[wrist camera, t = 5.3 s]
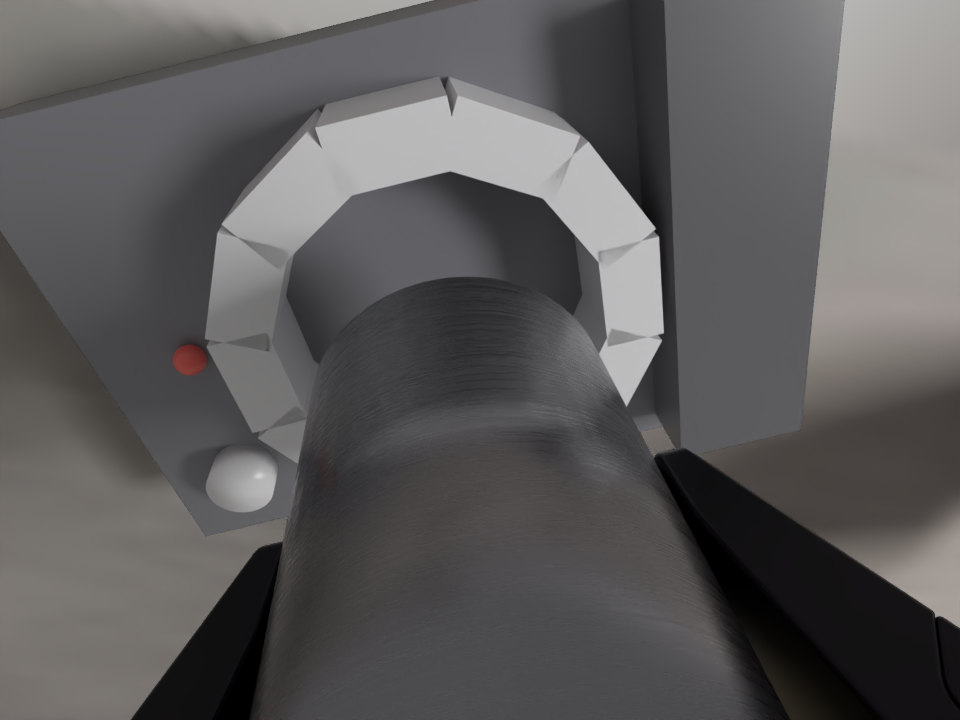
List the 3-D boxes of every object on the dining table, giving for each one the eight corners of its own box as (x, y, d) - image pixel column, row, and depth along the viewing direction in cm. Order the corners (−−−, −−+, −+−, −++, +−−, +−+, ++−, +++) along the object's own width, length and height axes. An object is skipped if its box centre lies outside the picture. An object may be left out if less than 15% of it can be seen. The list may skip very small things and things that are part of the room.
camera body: (726, -73, 14) (874, -88, 9) (722, 344, 20) (811, 448, 15) (18, 103, 14) (-143, 165, 10) (229, 463, 20) (185, 597, 16)
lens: (593, 234, 9) (1606, 1617, 2) (621, 482, 12) (1026, 1406, 4) (254, 316, 9) (-416, 2025, 2) (360, 543, 12) (303, 1560, 4)
